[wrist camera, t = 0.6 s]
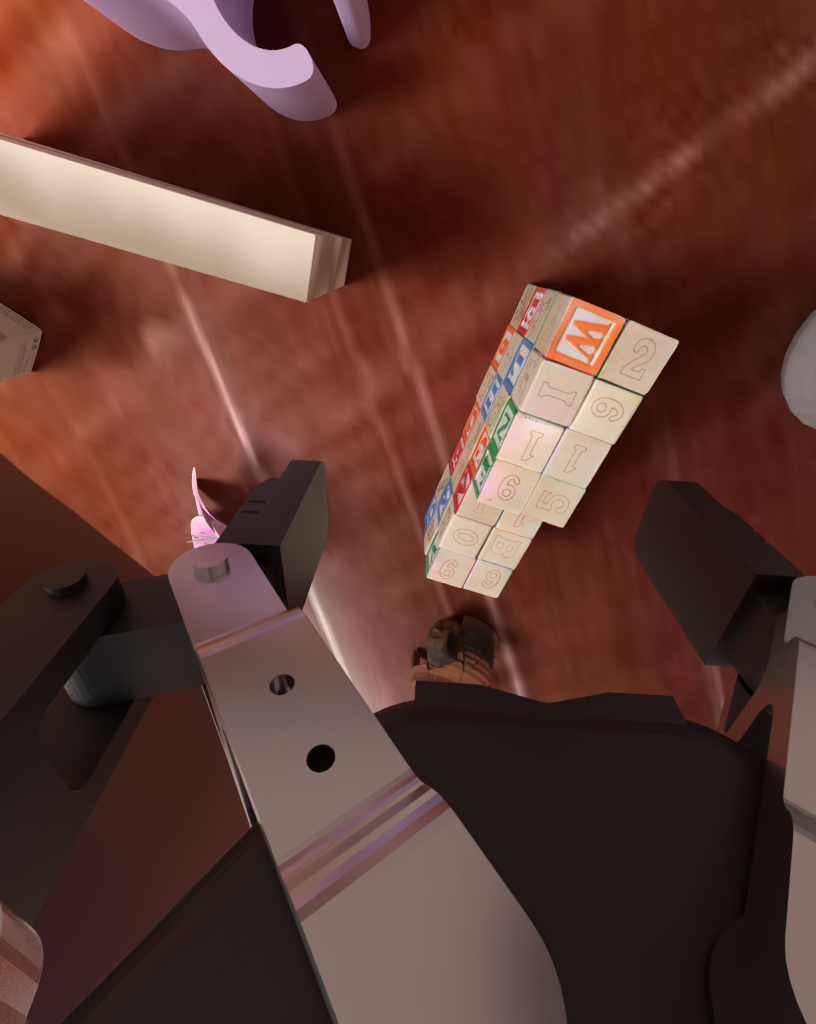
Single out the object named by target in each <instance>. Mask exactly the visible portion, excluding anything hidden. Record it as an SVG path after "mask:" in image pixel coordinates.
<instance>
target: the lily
mask: <svg viewBox="0 0 816 1024" xmlns="http://www.w3.org/2000/svg"><path fill="white" fill-rule="evenodd" d="M192 488H193V493H194V496H195V499H196V504H197V509H198V513H199V516H197V517H195V518H194V519H193V520H192V522H191V534H192V535H191V536H192V539H193V540H192V541H185V542H187V543H188V542H193V545H191V546H194V548H197V547H200V546H203V545H207V544H213V543H215V542H216V541H217V539H218V538H219V537H220V535H221V534H222V532H223V531H224V529H225V528H226V527H227V524H225V523H224V522H223V521H221V520H220V519H219V518H218V517H217V516H215V515H214V514H213V513H212V512H211V511H210V510H209V509H208V508H207V507H206V506H205V505H204V504H203V502H202V500H201V499H200V497H199V494H198V489H197V481H196V473H195V467H194V468H193V474H192Z"/></svg>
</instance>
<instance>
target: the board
mask: <svg viewBox="0 0 816 1024" xmlns="http://www.w3.org/2000/svg"><path fill="white" fill-rule="evenodd" d="M0 215H4V216H7V217H11V218H14V219H18V220H21V221H25V222H28V223H32V224H35V225H39V226H42V227H46V228H49V229H53V230H56V231H60V232H63V233H66V234H70V235H73V236H77V237H80V238H84V239H87V240H91V241H94V242H98V243H101V244H105V245H108V246H112V247H115V248H119V249H122V250H126V251H129V252H133V253H136V254H140V255H143V256H146V257H150V258H153V259H157V260H160V261H164V262H167V263H171V264H174V265H178V266H181V267H185V268H188V269H192V270H195V271H199V272H202V273H206V274H209V275H213V276H216V277H220V278H223V279H226V280H230V281H233V282H237V283H240V284H244V285H247V286H251V287H254V288H258V289H261V290H265V291H268V292H272V293H275V294H279V295H282V296H286V297H289V298H293V299H296V300H300V301H303V302H309V301H311V300H313V299H315V298H317V297H320V296H322V295H324V294H326V293H329V292H331V291H333V290H335V289H337V288H340V287H342V286H344V283H345V277H346V272H347V266H348V260H349V254H350V248H351V242H352V239H349V238H346V237H343V236H340V235H336V234H333V233H330V232H326V231H323V230H320V229H317V228H313V227H310V226H307V225H303V224H300V223H297V222H294V221H290V220H287V219H284V218H280V217H277V216H274V215H271V214H267V213H264V212H261V211H257V210H254V209H251V208H248V207H244V206H241V205H238V204H234V203H231V202H228V201H225V200H221V199H218V198H215V197H211V196H208V195H205V194H202V193H198V192H195V191H192V190H188V189H185V188H182V187H179V186H175V185H172V184H169V183H165V182H162V181H159V180H156V179H152V178H149V177H146V176H143V175H139V174H136V173H133V172H129V171H126V170H123V169H120V168H116V167H113V166H110V165H106V164H103V163H100V162H97V161H93V160H90V159H87V158H83V157H80V156H77V155H74V154H70V153H67V152H64V151H60V150H57V149H54V148H51V147H47V146H44V145H41V144H37V143H34V142H31V141H28V140H24V139H21V138H17V137H13V136H10V135H6V134H2V133H0Z"/></svg>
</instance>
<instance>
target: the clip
mask: <svg viewBox="0 0 816 1024" xmlns="http://www.w3.org/2000/svg"><path fill="white" fill-rule="evenodd" d="M84 1H85V2H86V3H88V4H89V5H91V6H92V7H93V8H95V9H96V10H98V11H99V12H100V13H102V14H103V15H104V16H106V17H107V18H109V19H110V20H111V21H113V22H114V23H115V24H117V25H118V26H120V27H121V28H122V29H124V30H125V31H127V32H128V33H130V34H131V35H133V36H134V37H136V38H138V39H140V40H142V41H144V42H146V43H148V44H151V45H153V46H156V47H160V48H164V49H168V50H179V51H184V50H194V49H200V48H206V49H209V50H210V51H211V52H212V53H213V55H214V56H215V57H216V58H217V59H218V60H219V61H220V62H221V63H222V64H223V65H224V66H225V67H226V68H227V69H229V70H230V71H231V72H232V73H233V74H234V75H235V76H236V77H237V78H238V79H240V80H241V81H242V82H243V83H244V84H245V85H246V86H247V87H248V88H250V89H251V90H252V91H253V92H254V93H255V94H256V95H257V96H258V97H259V98H261V99H262V100H263V101H264V102H265V103H266V104H267V105H268V106H270V107H271V108H272V109H273V110H275V111H276V112H278V113H280V114H282V115H284V116H286V117H288V118H291V119H294V120H299V121H315V120H320V119H323V118H326V117H328V116H330V115H332V114H333V113H334V112H335V111H336V107H337V102H336V99H335V97H334V95H333V93H332V91H331V89H330V88H329V86H328V84H327V83H326V81H325V79H324V78H323V76H322V74H321V73H320V71H319V69H318V68H317V66H316V64H315V63H314V61H313V59H312V58H311V56H310V54H309V53H308V51H307V50H306V48H305V47H304V46H303V45H301V44H294V45H292V46H290V47H288V48H285V49H281V50H264V49H261V48H257V45H256V42H255V37H254V32H253V20H252V17H253V4H254V0H84ZM333 1H334V3H335V6H336V9H337V11H338V14H339V17H340V19H341V22H342V25H343V27H344V30H345V33H346V35H347V38H348V41H349V43H350V44H351V45H352V46H353V47H356V48H359V49H364V48H366V47H367V46H368V45H369V43H370V38H371V26H370V14H369V7H368V2H367V0H333Z"/></svg>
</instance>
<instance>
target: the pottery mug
mask: <svg viewBox="0 0 816 1024" xmlns="http://www.w3.org/2000/svg"><path fill="white" fill-rule="evenodd" d="M497 641H498V637H497V634H496V633H495V632H494V631H493V629H491V628H490V627H489V626H488V625H487V624H485V623H484V622H482V621H480V620H479V619H476V618H474V617H471V616H468V615H464V616H463V622H462V623H461V627H460V626H459V625H458V623H457V622H455V621H453V620H451V619H446V620H439V621H438V622H436V623H435V624H434V625H433V626H432V628H431V630H430V633H429V636H428V640H427V655H428V662H429V663H430V664H431V665H433V666H435V667H434V668H431V669H430V668H429V665H428V664H427V663H424V664H419V663H420V654H419V652H417V651H415V650H413V652H412V655H411V670H412V672H413V677H412V679H411V681H410V684H411V685H413V686H414V687H415V684H416V680H418V681H434V682H450V683H467V684H479V685H483V686H486V687H490V686H488V685H490V682H491V679H492V673H491V669H493V664H494V662H493V660H494V658H496V657H497V654H498V645H497ZM460 651H463V661H461V660H460V659H457V657H458V655H457V652H460Z"/></svg>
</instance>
